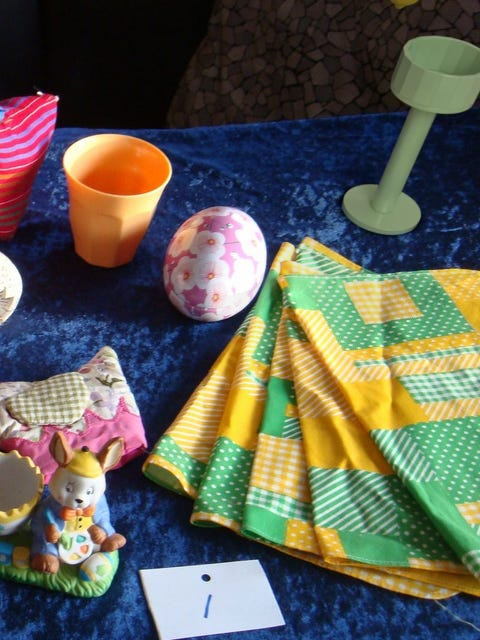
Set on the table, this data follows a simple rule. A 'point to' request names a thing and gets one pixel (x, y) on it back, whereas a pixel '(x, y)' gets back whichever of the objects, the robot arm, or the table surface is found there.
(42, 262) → the table surface
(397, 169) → the green goblet
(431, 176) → the table surface
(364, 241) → the table surface
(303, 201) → the table surface
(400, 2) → the lemon
